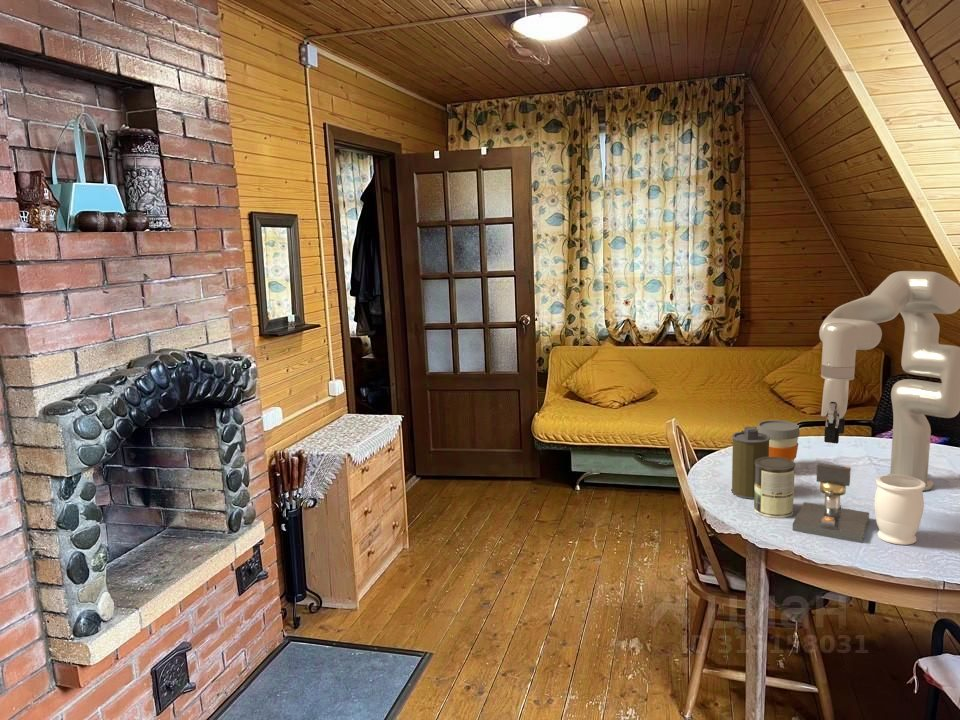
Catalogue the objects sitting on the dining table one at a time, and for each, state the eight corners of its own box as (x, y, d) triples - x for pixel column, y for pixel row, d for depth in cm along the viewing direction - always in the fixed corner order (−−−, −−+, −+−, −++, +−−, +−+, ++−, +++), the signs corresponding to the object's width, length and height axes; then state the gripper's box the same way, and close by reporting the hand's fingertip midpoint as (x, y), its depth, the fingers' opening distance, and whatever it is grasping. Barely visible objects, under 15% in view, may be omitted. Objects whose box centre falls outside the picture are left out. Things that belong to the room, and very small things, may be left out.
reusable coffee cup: (760, 477, 226) (761, 430, 223) (752, 463, 238) (753, 420, 235) (803, 477, 224) (804, 430, 221) (792, 464, 236) (793, 419, 233)
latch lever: (819, 483, 193) (820, 458, 192) (851, 488, 189) (852, 462, 188) (813, 494, 186) (814, 468, 185) (846, 499, 182) (847, 473, 181)
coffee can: (745, 509, 202) (746, 460, 200) (771, 501, 207) (772, 454, 204) (775, 521, 193) (776, 471, 191) (801, 513, 198) (803, 463, 195)
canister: (773, 498, 208) (775, 432, 204) (737, 499, 209) (738, 433, 205) (761, 485, 219) (762, 421, 215) (726, 486, 219) (727, 423, 216)
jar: (904, 528, 185) (908, 472, 182) (930, 546, 175) (935, 487, 172) (864, 530, 185) (867, 475, 182) (887, 548, 175) (891, 489, 172)
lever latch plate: (803, 509, 200) (805, 478, 198) (869, 519, 191) (870, 487, 190) (792, 530, 187) (793, 497, 185) (861, 542, 178) (863, 508, 177)
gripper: (826, 365, 191) (823, 427, 194) (815, 377, 177) (812, 444, 180) (858, 367, 187) (854, 431, 190) (849, 379, 172) (845, 448, 175)
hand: (834, 437), depth 185 cm, fingers open, 9 cm apart
